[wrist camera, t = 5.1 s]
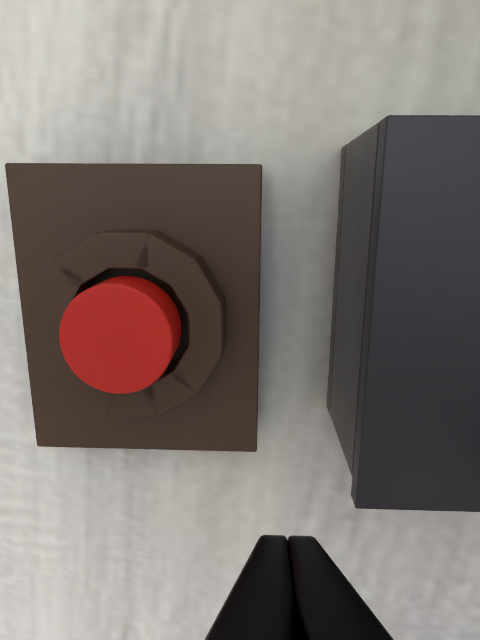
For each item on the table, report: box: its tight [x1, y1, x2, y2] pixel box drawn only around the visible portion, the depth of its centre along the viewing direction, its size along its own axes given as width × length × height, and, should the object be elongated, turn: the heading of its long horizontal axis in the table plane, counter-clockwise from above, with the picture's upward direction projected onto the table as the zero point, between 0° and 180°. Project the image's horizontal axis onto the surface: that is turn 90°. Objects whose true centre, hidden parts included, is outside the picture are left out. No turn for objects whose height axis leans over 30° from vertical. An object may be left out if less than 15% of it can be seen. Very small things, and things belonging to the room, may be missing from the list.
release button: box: [59, 276, 181, 394], centre depth 15 cm, size 4×4×2 cm
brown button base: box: [5, 163, 262, 452], centre depth 17 cm, size 11×9×4 cm
